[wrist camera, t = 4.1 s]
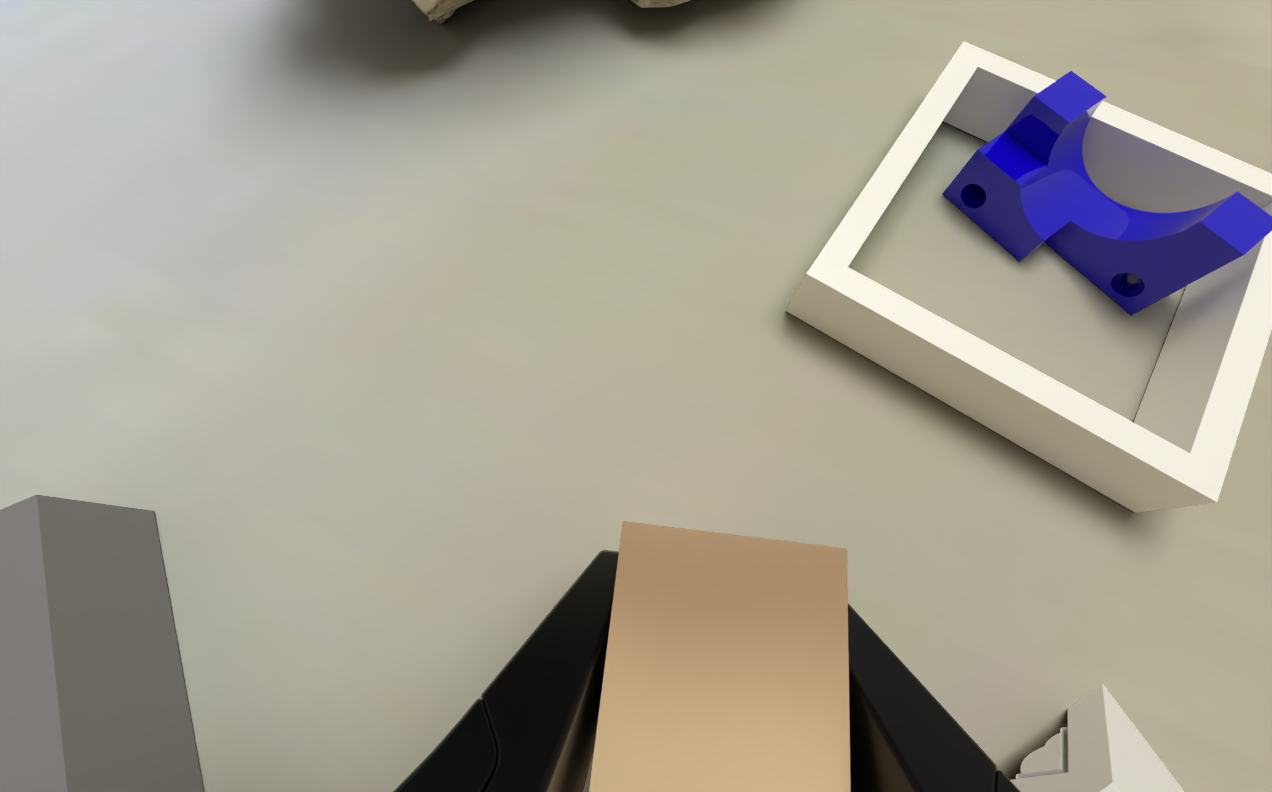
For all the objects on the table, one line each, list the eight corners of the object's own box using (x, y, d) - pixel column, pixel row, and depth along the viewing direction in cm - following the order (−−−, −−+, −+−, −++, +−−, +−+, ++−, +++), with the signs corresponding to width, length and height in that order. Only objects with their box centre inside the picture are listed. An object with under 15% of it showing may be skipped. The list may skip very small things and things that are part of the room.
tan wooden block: (716, 709, 15) (852, 934, 6) (614, 695, 15) (576, 891, 6) (725, 565, 16) (846, 548, 7) (630, 553, 16) (622, 521, 7)
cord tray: (1135, 512, 17) (1217, 502, 14) (785, 310, 19) (806, 273, 17) (1236, 237, 20) (1314, 192, 18) (929, 96, 23) (963, 41, 20)
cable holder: (939, 197, 21) (1005, 115, 18) (996, 157, 22) (1070, 71, 18) (1101, 338, 19) (1215, 280, 15) (1158, 290, 20) (1281, 222, 16)
